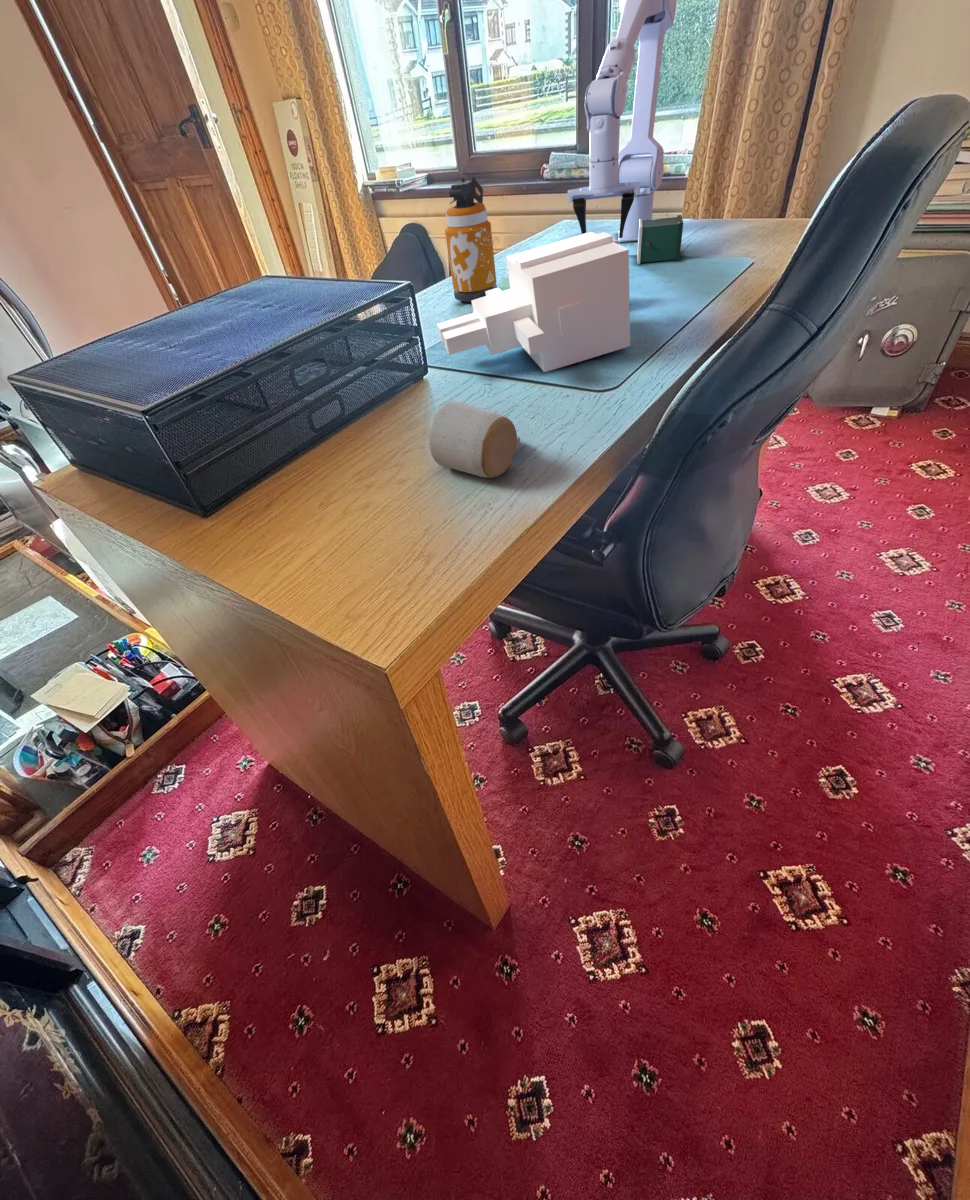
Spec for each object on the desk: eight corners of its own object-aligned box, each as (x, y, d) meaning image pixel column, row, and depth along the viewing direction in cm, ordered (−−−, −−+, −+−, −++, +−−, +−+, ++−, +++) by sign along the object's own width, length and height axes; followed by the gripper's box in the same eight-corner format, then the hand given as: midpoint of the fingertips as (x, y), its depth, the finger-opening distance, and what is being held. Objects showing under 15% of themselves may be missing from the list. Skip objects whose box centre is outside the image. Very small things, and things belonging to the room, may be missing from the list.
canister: (448, 304, 116) (430, 186, 102) (469, 287, 123) (454, 175, 110) (488, 304, 113) (474, 182, 99) (507, 287, 120) (497, 171, 106)
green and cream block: (637, 264, 120) (639, 227, 115) (637, 255, 125) (639, 218, 121) (679, 261, 118) (683, 222, 114) (677, 251, 124) (681, 214, 119)
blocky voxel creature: (440, 359, 100) (588, 314, 101) (470, 417, 82) (650, 361, 83) (417, 267, 90) (582, 218, 91) (446, 311, 72) (651, 249, 73)
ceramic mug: (489, 492, 64) (482, 429, 58) (433, 477, 68) (421, 416, 62) (536, 449, 70) (533, 388, 64) (482, 437, 74) (475, 379, 68)
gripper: (565, 167, 111) (567, 246, 120) (641, 158, 108) (637, 239, 117) (568, 161, 116) (569, 238, 125) (641, 152, 112) (637, 231, 122)
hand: (602, 238), depth 121 cm, fingers open, 7 cm apart
